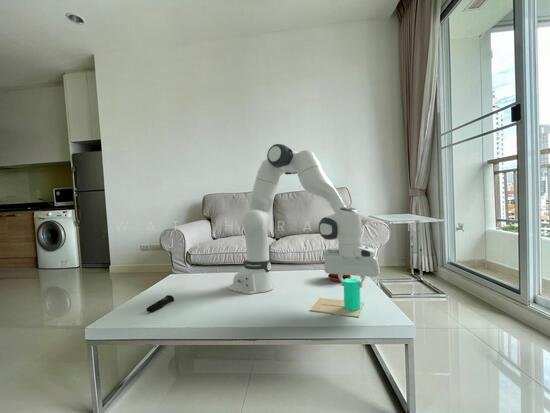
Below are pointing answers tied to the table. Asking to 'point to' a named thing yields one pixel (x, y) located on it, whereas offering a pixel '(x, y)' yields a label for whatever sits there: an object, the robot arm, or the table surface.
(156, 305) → the electric trimmer
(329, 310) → the tan flat wooden board
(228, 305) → the table surface
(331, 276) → the plant pot
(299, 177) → the robot arm
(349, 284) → the candle
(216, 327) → the table surface
